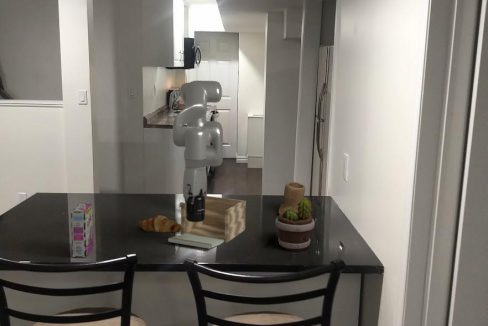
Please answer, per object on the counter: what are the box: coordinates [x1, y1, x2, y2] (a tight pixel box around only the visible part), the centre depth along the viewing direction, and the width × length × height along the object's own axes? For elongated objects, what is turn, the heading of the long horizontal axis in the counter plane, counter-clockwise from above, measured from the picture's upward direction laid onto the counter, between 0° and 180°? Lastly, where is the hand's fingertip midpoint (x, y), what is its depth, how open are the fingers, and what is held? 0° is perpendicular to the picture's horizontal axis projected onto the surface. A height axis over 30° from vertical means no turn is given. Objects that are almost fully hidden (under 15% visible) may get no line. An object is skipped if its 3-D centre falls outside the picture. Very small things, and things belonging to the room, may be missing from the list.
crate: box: [180, 195, 247, 243], centre depth 186 cm, size 17×20×13 cm
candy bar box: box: [70, 203, 94, 258], centre depth 165 cm, size 11×5×16 cm, turn 5°
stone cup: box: [278, 181, 306, 215], centre depth 218 cm, size 15×12×15 cm
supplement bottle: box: [186, 189, 205, 222], centre depth 171 cm, size 7×7×12 cm
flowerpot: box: [274, 196, 316, 252], centre depth 174 cm, size 14×15×20 cm
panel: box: [167, 234, 225, 250], centre depth 174 cm, size 1×17×12 cm
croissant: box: [137, 214, 181, 233], centre depth 191 cm, size 21×10×8 cm, turn 73°
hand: (195, 211), depth 171 cm, fingers closed on supplement bottle, 6 cm apart
